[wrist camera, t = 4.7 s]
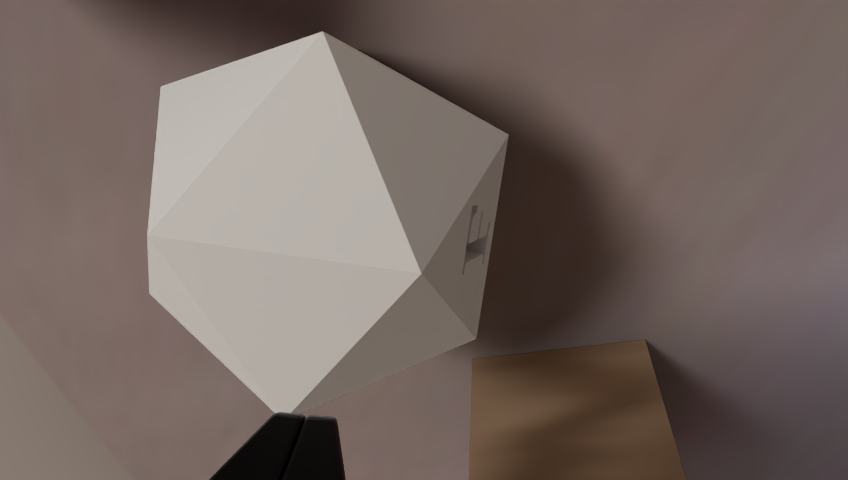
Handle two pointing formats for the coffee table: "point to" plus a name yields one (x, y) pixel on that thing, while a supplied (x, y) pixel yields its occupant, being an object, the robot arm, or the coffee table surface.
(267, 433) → the robot arm
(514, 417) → the walnut block
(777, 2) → the coffee table surface
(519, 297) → the coffee table surface
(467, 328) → the die
